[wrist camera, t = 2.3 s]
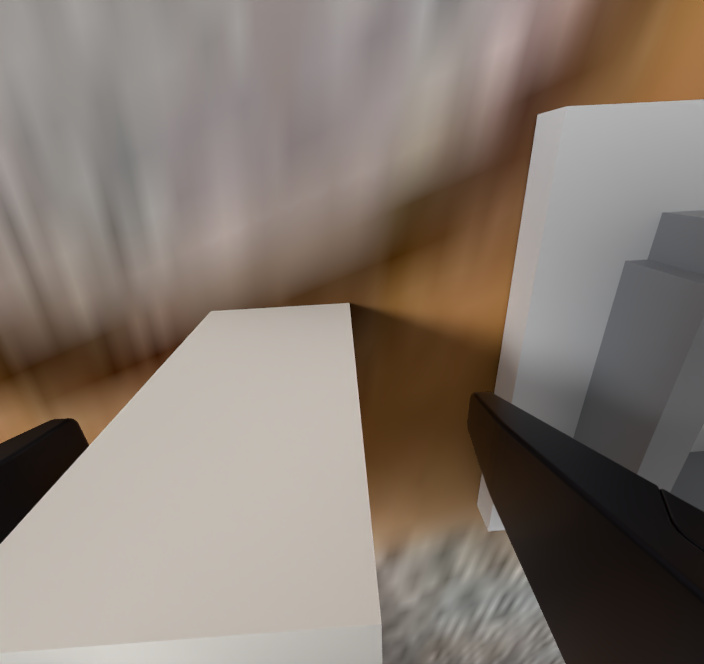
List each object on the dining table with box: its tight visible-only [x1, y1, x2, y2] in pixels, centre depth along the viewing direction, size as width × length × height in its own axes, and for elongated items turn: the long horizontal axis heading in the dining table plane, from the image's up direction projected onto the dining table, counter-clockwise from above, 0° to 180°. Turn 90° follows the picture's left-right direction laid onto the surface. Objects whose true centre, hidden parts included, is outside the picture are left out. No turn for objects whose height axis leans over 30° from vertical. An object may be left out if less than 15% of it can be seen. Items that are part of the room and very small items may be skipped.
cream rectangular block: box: [0, 303, 382, 664], centre depth 7 cm, size 4×4×7 cm
